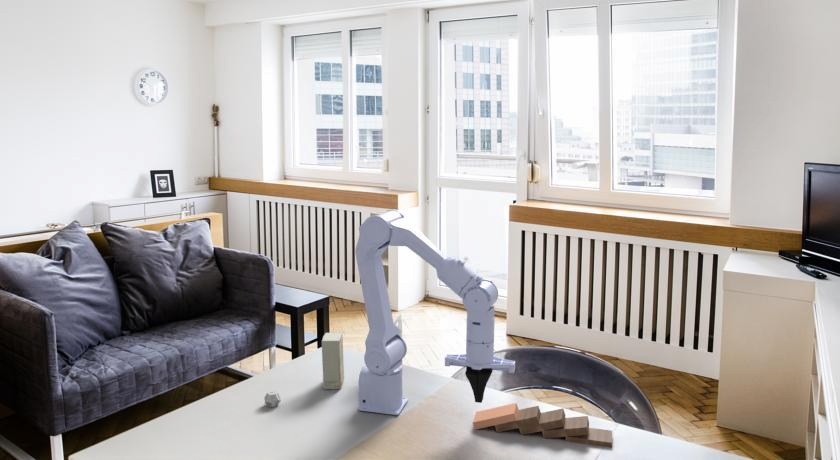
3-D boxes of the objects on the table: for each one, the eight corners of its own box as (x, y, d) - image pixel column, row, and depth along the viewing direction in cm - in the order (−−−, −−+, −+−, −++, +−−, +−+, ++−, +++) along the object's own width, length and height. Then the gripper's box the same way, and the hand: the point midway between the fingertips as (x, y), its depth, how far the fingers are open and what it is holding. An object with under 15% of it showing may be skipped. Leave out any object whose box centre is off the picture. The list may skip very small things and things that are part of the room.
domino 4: (565, 436, 134) (612, 442, 132) (567, 425, 139) (612, 430, 136) (565, 443, 134) (611, 450, 132) (566, 432, 139) (611, 437, 137)
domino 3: (542, 431, 135) (586, 427, 133) (544, 419, 140) (587, 415, 137) (543, 438, 135) (588, 434, 133) (545, 427, 140) (589, 423, 137)
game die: (272, 410, 148) (271, 397, 147) (261, 405, 150) (260, 393, 149) (284, 404, 151) (283, 392, 150) (273, 400, 153) (272, 388, 152)
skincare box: (341, 389, 158) (339, 341, 156) (322, 389, 158) (321, 341, 156) (344, 378, 164) (343, 332, 162) (326, 378, 164) (325, 331, 162)
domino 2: (518, 427, 137) (561, 419, 134) (521, 416, 141) (563, 408, 139) (521, 435, 137) (564, 426, 134) (524, 423, 141) (565, 415, 139)
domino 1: (494, 425, 138) (536, 416, 135) (497, 414, 143) (538, 405, 140) (497, 432, 138) (539, 423, 135) (500, 421, 143) (540, 412, 140)
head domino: (472, 422, 139) (514, 413, 136) (476, 411, 144) (516, 402, 141) (475, 429, 139) (516, 420, 136) (478, 418, 144) (518, 409, 141)
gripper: (441, 342, 136) (441, 404, 138) (512, 349, 132) (511, 413, 135) (449, 331, 142) (448, 390, 145) (517, 337, 139) (515, 398, 141)
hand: (479, 400), depth 140 cm, fingers closed
